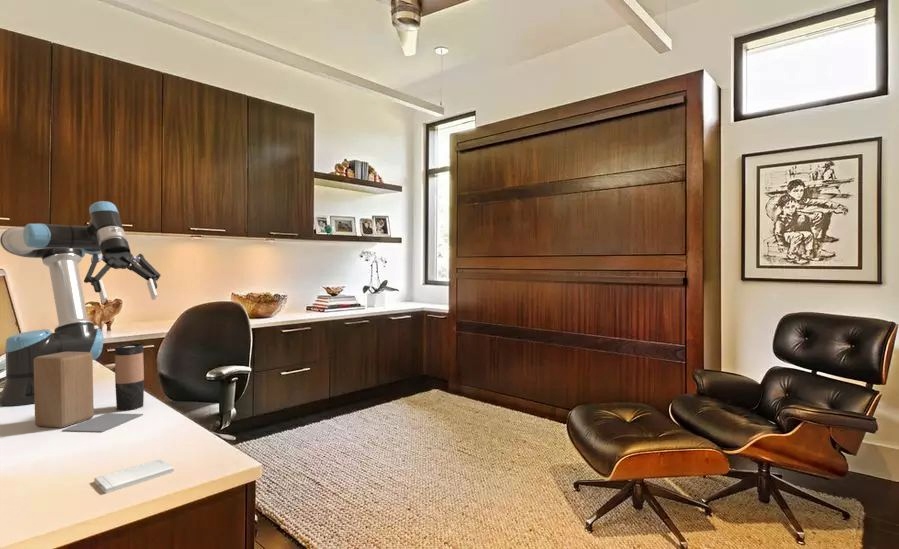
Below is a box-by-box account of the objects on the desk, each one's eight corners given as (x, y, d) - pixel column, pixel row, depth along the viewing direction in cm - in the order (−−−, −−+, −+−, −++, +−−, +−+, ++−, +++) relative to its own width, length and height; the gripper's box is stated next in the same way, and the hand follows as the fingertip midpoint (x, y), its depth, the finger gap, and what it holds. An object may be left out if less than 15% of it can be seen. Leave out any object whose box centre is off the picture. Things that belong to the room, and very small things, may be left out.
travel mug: (150, 405, 153) (149, 344, 153) (127, 412, 146) (126, 348, 146) (133, 403, 156) (132, 343, 156) (109, 409, 149) (108, 347, 148)
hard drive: (160, 458, 108) (94, 476, 98) (173, 467, 103) (105, 487, 93) (160, 465, 108) (94, 484, 98) (174, 475, 103) (105, 496, 93)
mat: (62, 431, 129) (62, 430, 129) (106, 414, 144) (106, 413, 144) (102, 432, 128) (102, 431, 128) (143, 415, 143) (143, 414, 143)
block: (61, 429, 131) (60, 358, 131) (33, 427, 133) (31, 357, 133) (95, 417, 141) (94, 351, 140) (68, 416, 143) (66, 350, 142)
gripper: (68, 234, 139) (84, 294, 132) (159, 237, 159) (177, 290, 153) (62, 249, 143) (77, 308, 136) (152, 250, 163) (169, 302, 156)
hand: (130, 299), depth 144 cm, fingers open, 13 cm apart
